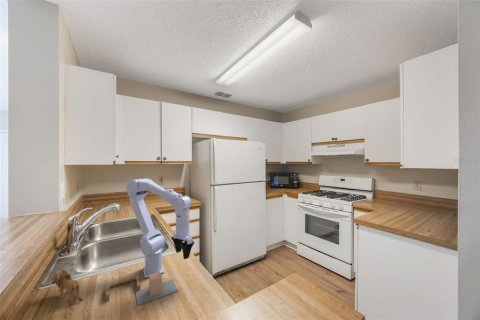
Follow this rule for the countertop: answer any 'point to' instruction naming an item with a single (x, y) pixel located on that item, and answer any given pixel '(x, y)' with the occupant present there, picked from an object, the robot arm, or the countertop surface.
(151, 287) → the terracotta block
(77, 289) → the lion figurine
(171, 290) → the slate mat
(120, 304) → the countertop surface
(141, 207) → the robot arm
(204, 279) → the countertop surface
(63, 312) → the countertop surface
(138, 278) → the walnut cradle
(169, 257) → the countertop surface
